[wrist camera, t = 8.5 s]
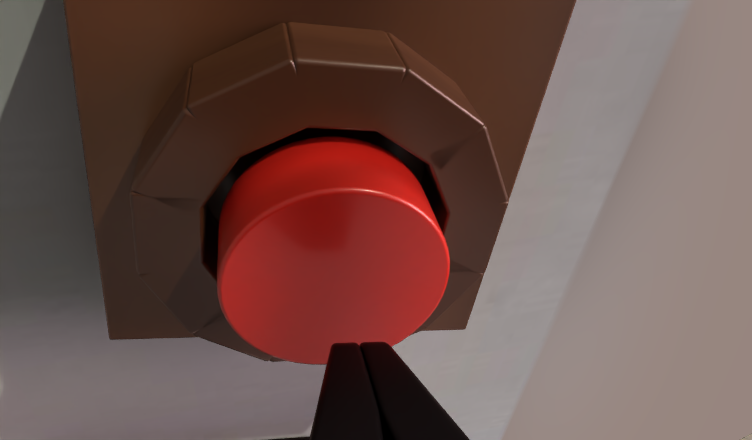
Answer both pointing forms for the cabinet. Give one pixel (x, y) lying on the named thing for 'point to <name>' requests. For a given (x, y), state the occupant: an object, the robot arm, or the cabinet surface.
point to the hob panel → (299, 439)
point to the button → (328, 250)
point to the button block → (293, 127)
